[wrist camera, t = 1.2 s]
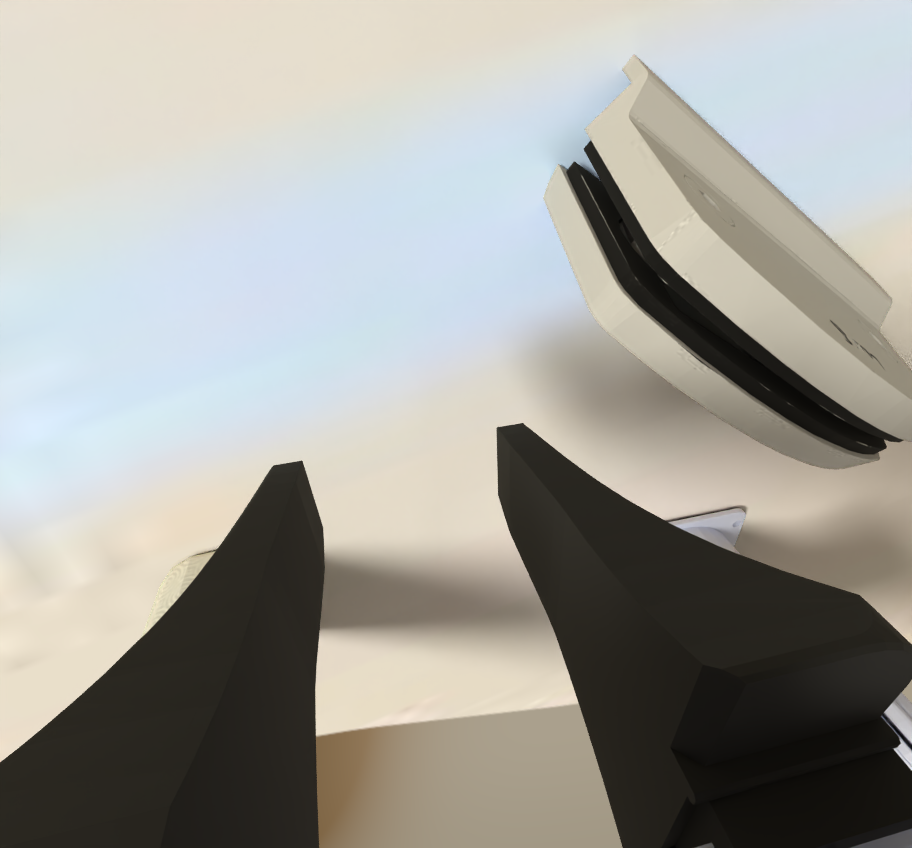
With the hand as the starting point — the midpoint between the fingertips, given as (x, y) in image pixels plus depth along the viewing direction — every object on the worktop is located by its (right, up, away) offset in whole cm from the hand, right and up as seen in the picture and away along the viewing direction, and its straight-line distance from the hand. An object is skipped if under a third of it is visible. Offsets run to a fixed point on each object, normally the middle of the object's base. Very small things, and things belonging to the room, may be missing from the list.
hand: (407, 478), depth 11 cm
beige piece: (+12, +8, +10) cm, 17 cm away
